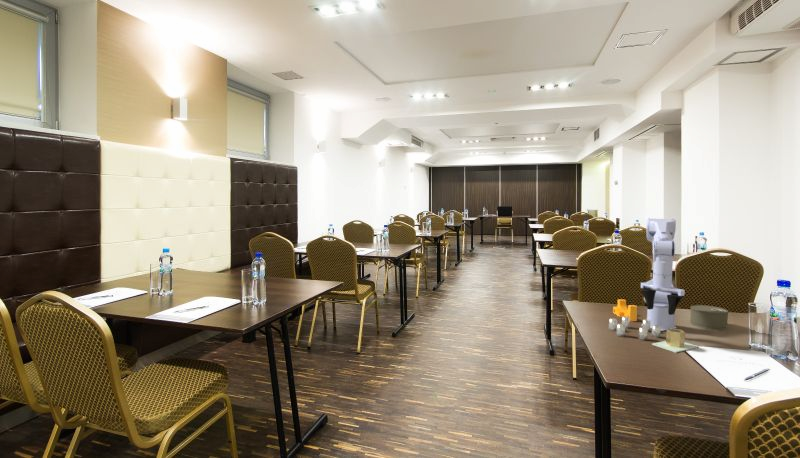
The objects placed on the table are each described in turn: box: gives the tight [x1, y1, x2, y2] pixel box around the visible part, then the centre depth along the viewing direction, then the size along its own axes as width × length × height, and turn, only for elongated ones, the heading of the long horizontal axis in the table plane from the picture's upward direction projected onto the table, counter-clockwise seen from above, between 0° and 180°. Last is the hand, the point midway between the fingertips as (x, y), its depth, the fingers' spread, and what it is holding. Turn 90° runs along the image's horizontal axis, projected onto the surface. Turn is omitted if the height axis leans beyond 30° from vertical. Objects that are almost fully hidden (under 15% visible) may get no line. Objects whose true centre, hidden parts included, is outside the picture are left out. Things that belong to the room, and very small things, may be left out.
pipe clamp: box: [612, 298, 638, 322], centre depth 171 cm, size 12×4×6 cm, turn 174°
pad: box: [651, 340, 700, 354], centre depth 136 cm, size 12×8×1 cm, turn 114°
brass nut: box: [665, 328, 686, 348], centre depth 136 cm, size 5×4×5 cm
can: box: [689, 304, 729, 331], centre depth 160 cm, size 12×12×7 cm
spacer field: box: [608, 316, 661, 341], centre depth 150 cm, size 17×15×4 cm
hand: (660, 311), depth 145 cm, fingers open, 7 cm apart
